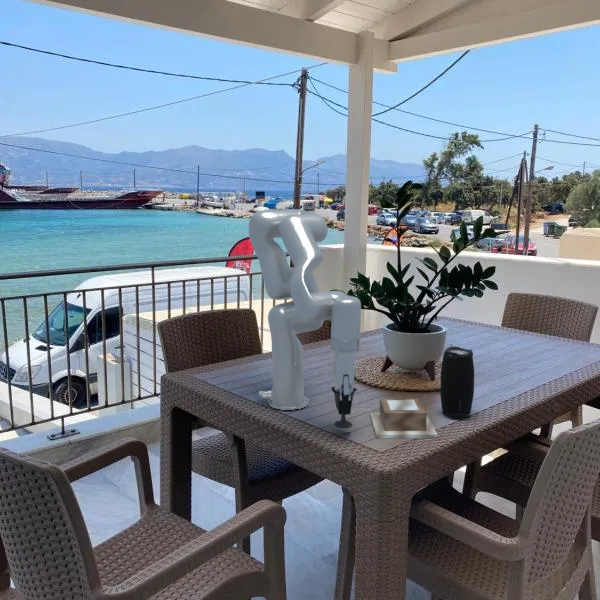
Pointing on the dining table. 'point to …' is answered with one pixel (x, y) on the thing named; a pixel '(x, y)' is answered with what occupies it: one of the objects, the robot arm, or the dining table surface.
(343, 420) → the sundae
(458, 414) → the portable speaker
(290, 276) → the robot arm
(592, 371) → the dining table surface
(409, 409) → the pedestal
